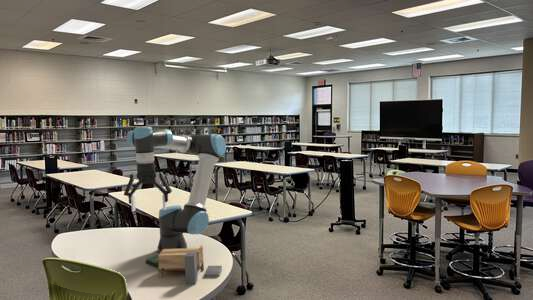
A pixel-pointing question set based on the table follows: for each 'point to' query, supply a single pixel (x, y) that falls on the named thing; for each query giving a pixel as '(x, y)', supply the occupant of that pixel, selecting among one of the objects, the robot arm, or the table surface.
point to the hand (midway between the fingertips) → (149, 210)
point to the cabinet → (178, 259)
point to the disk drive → (153, 262)
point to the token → (213, 271)
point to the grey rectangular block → (191, 268)
